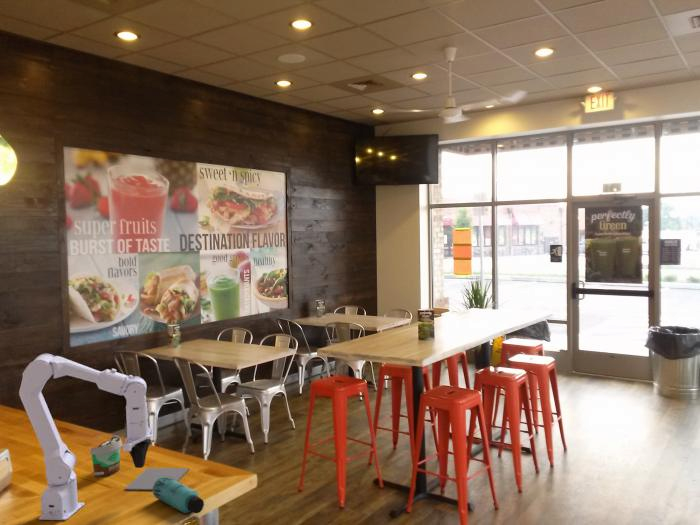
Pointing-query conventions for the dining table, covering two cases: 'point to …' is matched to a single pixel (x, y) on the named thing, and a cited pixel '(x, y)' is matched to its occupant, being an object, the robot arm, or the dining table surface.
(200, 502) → the beverage bottle
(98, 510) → the dining table surface
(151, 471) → the mat
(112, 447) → the food container
